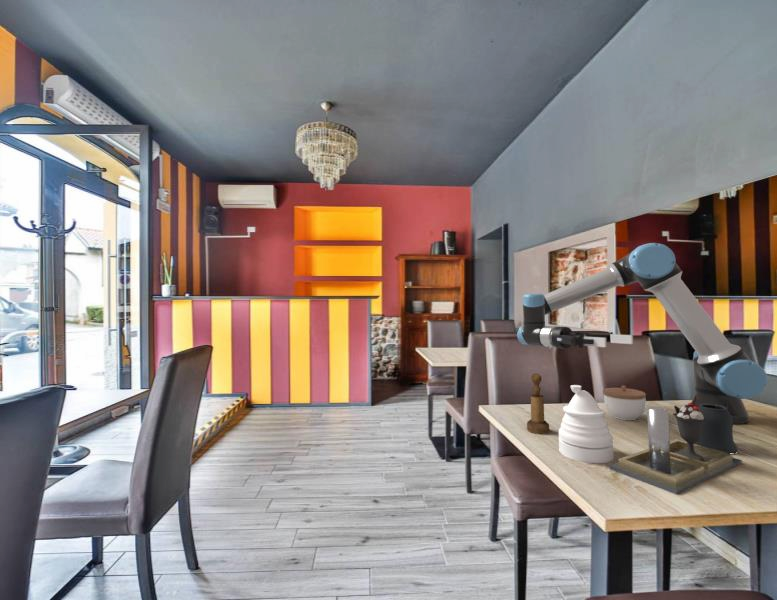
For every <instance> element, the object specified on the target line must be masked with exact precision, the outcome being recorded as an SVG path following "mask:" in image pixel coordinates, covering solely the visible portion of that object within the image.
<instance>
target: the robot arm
mask: <svg viewBox="0 0 777 600" xmlns="http://www.w3.org/2000/svg"><path fill="white" fill-rule="evenodd" d="M681 269H682V268H680V266H679V265H678V264H677V262H676V255H675V253H674V251H673V250H672V249H671V248H669V246H667V245H665V244H664V243H663V244H662V243H657V242H649V243H645V244H642V245H638V246H637V247H635V249H633V250H632V251H630V252H629V253H628V254H626V255H625V256H623V257H622V258H620V259H619V260H616V261H614V262H612V263H610V264H609V267H607V268H604V269H602V270H599V271H597V272H594V273H593V274H590V275H588V276H586V277H583V278H581V279H578V280H575V281H574V282H571V283H569V284H566V285H565V286H562V287H560V288H556V289H555V290H552V291H550V292H548V293H545V294H543V293H526V294H524V295H522V296H523V297H522V308H523V309H522V313H523V315H522V316H523V325H520V326H519V328H518V331H517V333H516V336H517V340H518V342H519V343H520V344H522V345H526V346H530V347H542V348H549V350H552V349H553V348H555V349H556V348H557V349H565V350H568V349H569V348H571V347H572V346H574V347H575V346H578V348H579V349H580V348H584V347H594V348H595V347H598V348H607V343H611V344H623V345H624V344H625V345H634V335H633V334H616V333H613V332H612V331H610V332H609V333H588V332H579V331H575V332H573V330H572V329H571V328H570V327H569V326H556V325H546V315H549V314H551V313H553V312H556V311H558V310H561V309H563V308H566V307H568V306H571V305H573V304H575V303H578V302H581V301H583V300H586V299H588V298H590V297H593V296H595V295H598V294H601V293H604V292H606V291H608V290H611V289H613V288H616V287H622V288H623V287H625V286H629V285H631V284H634V283H638V284H639V285H640V286H641V287H642V288H643V290H644V291H646V292H650V293H652V294H653V295H654V297H656V299H657V300H658V302H659V303H660V305H661V306H662V307H663V308H664V310H665V311H666V313H667V314H668V315H669V317H670V318H671V320H672V321H673V322H674V324H675V325H676V326H677V328H678V329H679V331H680V332H681V333H682V335H683V336H684V337H685V338H686V340H687V341H688V342H689V344H690V345H691V348H693V349H694V352H693V356H692V357H693V358H692V361H693V375H694V394H693V397H692V400H691V402H690V403H692V402H693V401H694V400H695V401H694V402H693V404H694V406H695V402H696V401H697V400H698V399H697V398H700V400H698V401H697V402H696V406H697V407H699V405H700V404H715V405H721V406H724V407H726V408H727V409H728V412H729V413H730V414H731V416H732V421H733V424H735V425H736V424H737V425H739V424H747V423H749V422H750V418H749V417H750V416H749V415H750V414H749V412H748V410H747V408H746V406H745V405H744V401H743V400H742V399H749V398H753V397H756V396H758V395H760V394H761V393H762V392H764V390H765V389H766V387H767V384H768V379H769V378H768V374H767V372H766V371H765V370H764V368H763V367H762V366H761V365H759V364H758V363H757V362H755V361H753V360H751V358H749V356H748V354H746V352H745V351H744V350H743V349H742V348H741V346H739V345H737V344H732V343H730V342H729V340H728V339H727V337H726V335H724V333H723V332H722V331H721V329H720V328H719V326H717V324H716V323H715V321H714V320H713V319H712V318H711V317H710V315H709V314H708V312H707V311H706V310H705V308H703V306H702V305H701V303H700V302H699V301H698V300H697V298H696V296H695V295H694V294H693V293H692V292H691V290H690V289H689V287H688V286H687V285H686V284H685V282H684V281H683V280H682V278H681V277H682V274H683V270H681ZM696 399H697V400H696Z"/></svg>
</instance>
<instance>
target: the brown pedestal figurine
mask: <svg viewBox="0 0 777 600" xmlns="http://www.w3.org/2000/svg"><path fill="white" fill-rule="evenodd" d="M531 382H532V383H533V385H534V386H533V387H532V391H533V394H530V419H529V420H528V421H527V422H526V430H527V432H529V431H530V432H529V433H531V434H536V433H538V434H540V435H543V434H542V433H546V434H549V433H550V424H549V423H548V422H547V421H546V420H545V403H544V402H545V401H544V400H545V399H544V398H545V397H544V395H542V394H540V393H541V390H542V389H541V387H540V384H541V382H542V375H540V373H533V374H532V375H531ZM548 432H549V433H548ZM538 434H537V435H538Z"/></svg>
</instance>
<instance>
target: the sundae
mask: <svg viewBox="0 0 777 600" xmlns="http://www.w3.org/2000/svg"><path fill="white" fill-rule="evenodd" d="M697 399H698V400H700V398H697ZM697 399H696V400H697ZM698 400H697V401H698ZM694 401H695V400H694ZM694 401H693V402H694ZM697 401H696V402H697ZM691 402H692V401H691ZM691 402H688V403H687V404H684V405H682V406H681V407H679V406H677V405H674V406H673V407H674V410H675V412H673V413H672V416H674V417H675V420H676V424H677V427H678V433H679V436H680V437H681V438H682V440H683V441H684V442H687V444H688V448H687V451H686V452H680V453H679V455H682V456H686V457H689V458H693V459H696V460H703V459H704V458H703V457H702V456H700V455H698V454H696V453H695V452H694V445H693V444H694V443H695V442H697V441H699V440H700V438H701V433H702V425H703V422H704V421H706V420H707V419H706V417H704V416H703V415H702V413H701V412H700V411H699V407H697V406H696V402H695V406H694V404H693V402H692V403H691Z"/></svg>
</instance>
